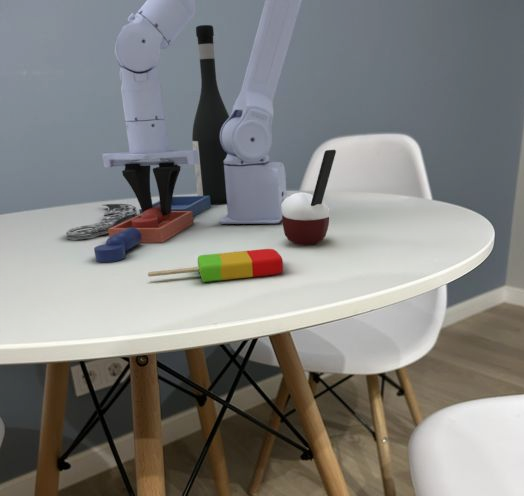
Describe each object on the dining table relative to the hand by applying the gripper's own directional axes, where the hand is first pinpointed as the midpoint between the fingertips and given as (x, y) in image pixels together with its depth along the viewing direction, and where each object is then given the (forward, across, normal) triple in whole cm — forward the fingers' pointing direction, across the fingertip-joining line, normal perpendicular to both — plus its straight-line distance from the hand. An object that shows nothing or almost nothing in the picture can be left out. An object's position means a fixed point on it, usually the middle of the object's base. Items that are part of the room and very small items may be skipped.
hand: (157, 214), depth 90 cm
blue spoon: (+2, 0, -14) cm, 15 cm away
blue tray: (+2, -2, +13) cm, 13 cm away
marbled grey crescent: (+3, -12, +7) cm, 14 cm away
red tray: (+2, 0, -2) cm, 3 cm away
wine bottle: (+3, +2, +25) cm, 25 cm away
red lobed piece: (+1, 0, -2) cm, 2 cm away
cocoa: (+3, +25, -9) cm, 27 cm away
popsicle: (+3, +17, -24) cm, 30 cm away
